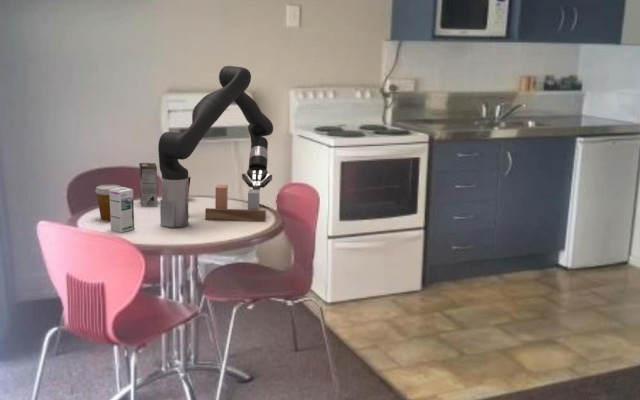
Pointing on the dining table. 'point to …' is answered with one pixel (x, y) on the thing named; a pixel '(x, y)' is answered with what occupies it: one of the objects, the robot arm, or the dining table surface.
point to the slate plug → (253, 199)
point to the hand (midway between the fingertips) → (255, 195)
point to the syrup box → (121, 209)
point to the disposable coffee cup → (105, 200)
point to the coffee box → (148, 184)
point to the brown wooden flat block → (235, 215)
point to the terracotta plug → (221, 197)
